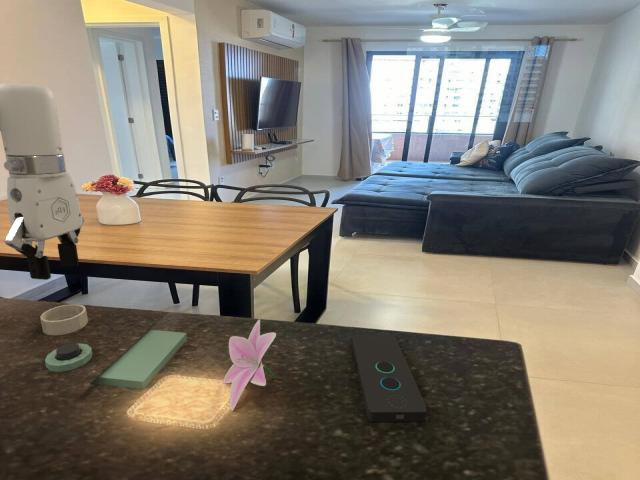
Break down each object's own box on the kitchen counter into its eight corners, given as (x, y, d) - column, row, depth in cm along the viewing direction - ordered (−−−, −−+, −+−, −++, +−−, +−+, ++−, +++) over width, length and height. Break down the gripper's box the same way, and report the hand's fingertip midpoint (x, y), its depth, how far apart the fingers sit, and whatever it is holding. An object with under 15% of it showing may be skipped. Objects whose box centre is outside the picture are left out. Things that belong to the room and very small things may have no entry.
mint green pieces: (39, 380, 57) (35, 363, 56) (103, 331, 71) (100, 317, 70) (142, 391, 55) (140, 374, 54) (187, 339, 69) (186, 324, 68)
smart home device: (368, 411, 50) (350, 333, 69) (367, 422, 51) (349, 341, 70) (429, 411, 51) (395, 333, 70) (428, 421, 51) (394, 341, 70)
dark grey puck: (52, 360, 58) (51, 352, 57) (67, 349, 60) (66, 342, 60) (70, 362, 57) (69, 354, 57) (85, 351, 60) (83, 343, 60)
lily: (236, 362, 65) (206, 327, 59) (300, 341, 63) (276, 302, 58) (229, 431, 55) (193, 397, 49) (305, 408, 53) (276, 369, 48)
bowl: (35, 343, 67) (30, 319, 65) (64, 324, 73) (60, 302, 72) (70, 346, 66) (66, 323, 65) (97, 327, 72) (94, 305, 71)
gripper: (10, 173, 52) (34, 293, 57) (95, 162, 69) (108, 257, 74) (-38, 170, 53) (-10, 289, 58) (57, 161, 70) (72, 254, 75)
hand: (56, 270), depth 66 cm, fingers open, 5 cm apart
